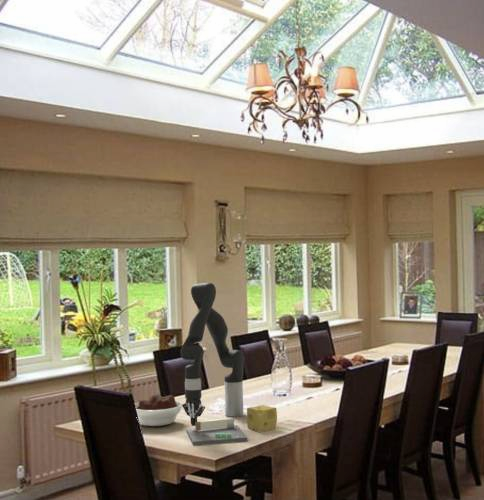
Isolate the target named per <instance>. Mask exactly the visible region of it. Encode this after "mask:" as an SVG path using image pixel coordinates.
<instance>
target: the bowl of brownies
mask: <svg viewBox="0 0 484 500" xmlns="http://www.w3.org/2000/svg"><path fill="white" fill-rule="evenodd" d="M134 404H135V406H136V410H137V414H138V418H139V421H140V423H139V424H141V425H142V426H147V427H148V426H150V427H162V426H167V425H171V424H173V423H174V422H176V419H177V417H178V415H179V414H180V412H181V411H182V408H183V406H182V402H181V401H177V400H176V399H175V396H174V395H165V396H161V394H159V393H154V394H152V395H151V396H150V397H149V398H148V399H142V400H139V401H138V402H136V403H134ZM139 421H138V422H139Z"/></svg>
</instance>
